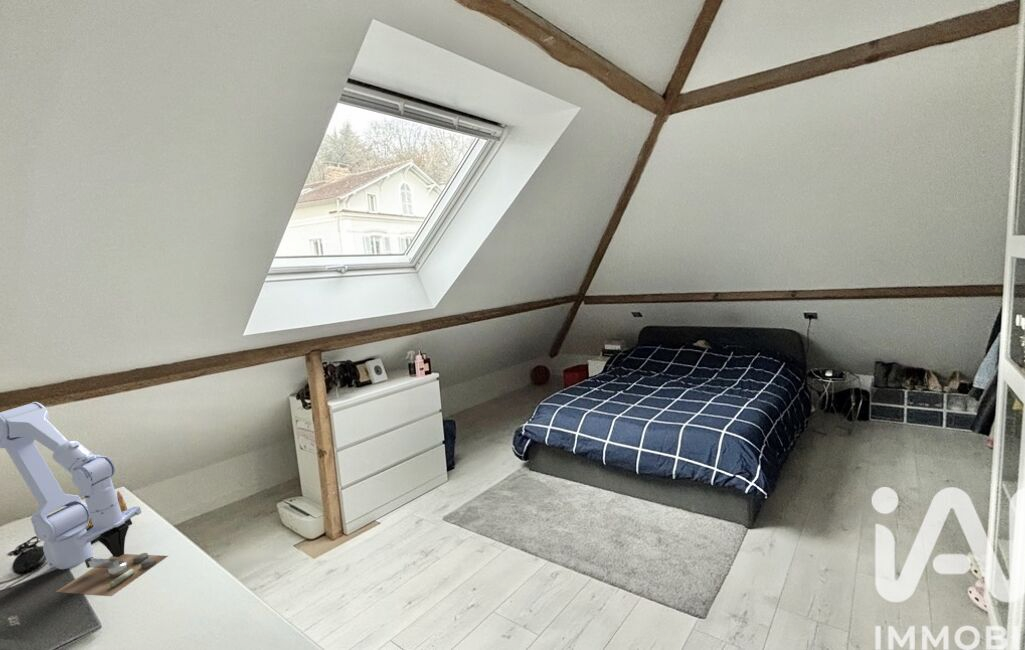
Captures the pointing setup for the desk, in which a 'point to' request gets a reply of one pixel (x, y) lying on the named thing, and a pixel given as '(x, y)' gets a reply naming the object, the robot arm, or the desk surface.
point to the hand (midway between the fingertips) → (118, 555)
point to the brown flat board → (103, 584)
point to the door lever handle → (108, 565)
